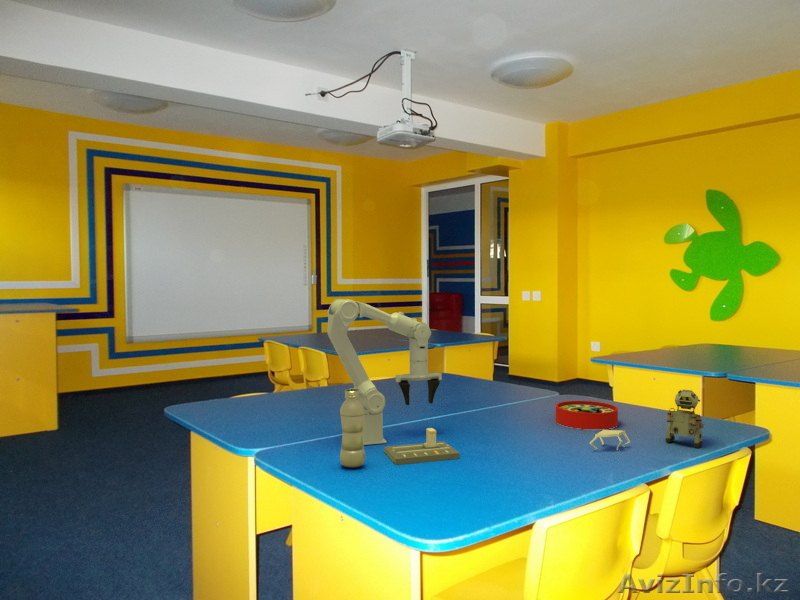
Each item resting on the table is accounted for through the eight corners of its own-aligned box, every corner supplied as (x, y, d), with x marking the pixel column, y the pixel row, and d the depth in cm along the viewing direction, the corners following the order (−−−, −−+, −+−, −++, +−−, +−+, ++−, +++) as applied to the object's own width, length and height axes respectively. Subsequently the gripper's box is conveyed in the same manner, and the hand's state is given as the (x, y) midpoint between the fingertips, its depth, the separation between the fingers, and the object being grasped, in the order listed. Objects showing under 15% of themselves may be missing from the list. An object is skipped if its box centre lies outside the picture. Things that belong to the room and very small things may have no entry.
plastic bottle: (352, 461, 154) (351, 386, 153) (370, 466, 149) (370, 389, 149) (334, 467, 149) (333, 390, 148) (353, 472, 144) (352, 393, 144)
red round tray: (543, 403, 198) (588, 398, 206) (543, 420, 198) (588, 414, 206) (583, 415, 180) (631, 409, 188) (583, 434, 180) (631, 427, 188)
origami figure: (605, 442, 170) (605, 425, 170) (631, 448, 164) (632, 431, 163) (581, 449, 163) (581, 432, 163) (607, 456, 156) (607, 438, 156)
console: (395, 464, 150) (395, 456, 150) (384, 452, 162) (383, 444, 162) (459, 458, 155) (459, 450, 155) (444, 446, 167) (443, 439, 167)
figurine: (708, 441, 170) (709, 391, 169) (696, 450, 161) (696, 396, 161) (676, 436, 176) (676, 387, 176) (662, 443, 168) (663, 392, 167)
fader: (426, 451, 157) (426, 431, 157) (422, 447, 160) (422, 428, 160) (440, 450, 158) (440, 430, 158) (436, 446, 161) (436, 427, 161)
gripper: (399, 363, 173) (400, 407, 173) (445, 360, 177) (445, 404, 177) (393, 360, 180) (394, 403, 180) (437, 358, 184) (437, 400, 184)
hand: (419, 403), depth 179 cm, fingers open, 7 cm apart
